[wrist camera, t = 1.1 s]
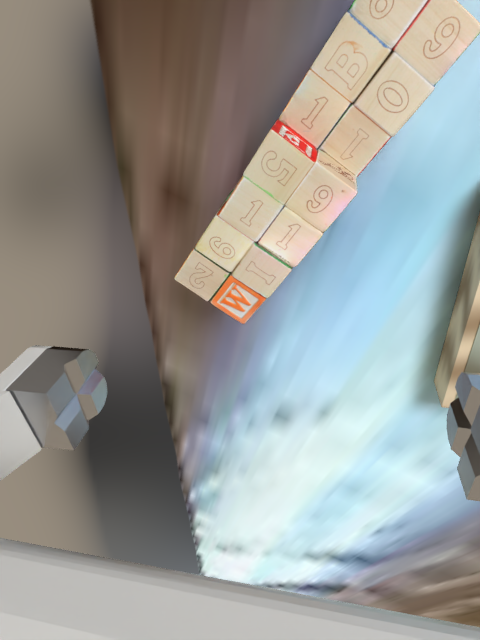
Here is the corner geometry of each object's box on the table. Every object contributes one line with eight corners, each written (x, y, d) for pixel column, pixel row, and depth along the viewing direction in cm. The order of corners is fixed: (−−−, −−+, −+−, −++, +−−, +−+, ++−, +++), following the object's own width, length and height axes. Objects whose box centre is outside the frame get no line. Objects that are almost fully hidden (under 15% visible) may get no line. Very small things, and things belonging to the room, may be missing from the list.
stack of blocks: (377, -33, 25) (405, -82, 15) (446, 32, 26) (513, 25, 17) (213, 218, 37) (170, 281, 28) (265, 255, 39) (242, 328, 29)
